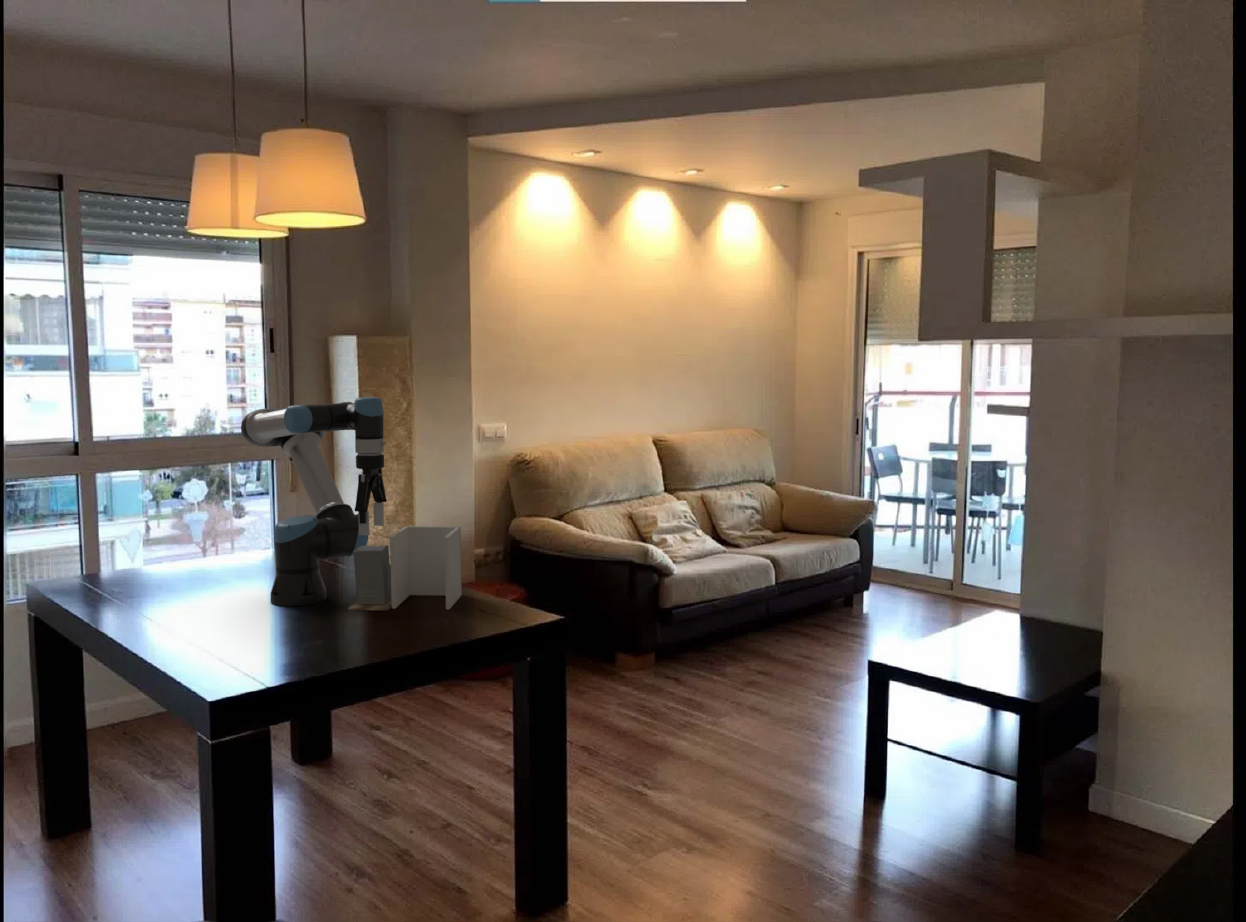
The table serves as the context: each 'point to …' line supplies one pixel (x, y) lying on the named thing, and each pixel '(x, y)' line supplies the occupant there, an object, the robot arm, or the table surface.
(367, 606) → the cork coaster
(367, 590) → the skincare box
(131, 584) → the table surface
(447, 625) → the table surface
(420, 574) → the shelf bay
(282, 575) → the robot arm
